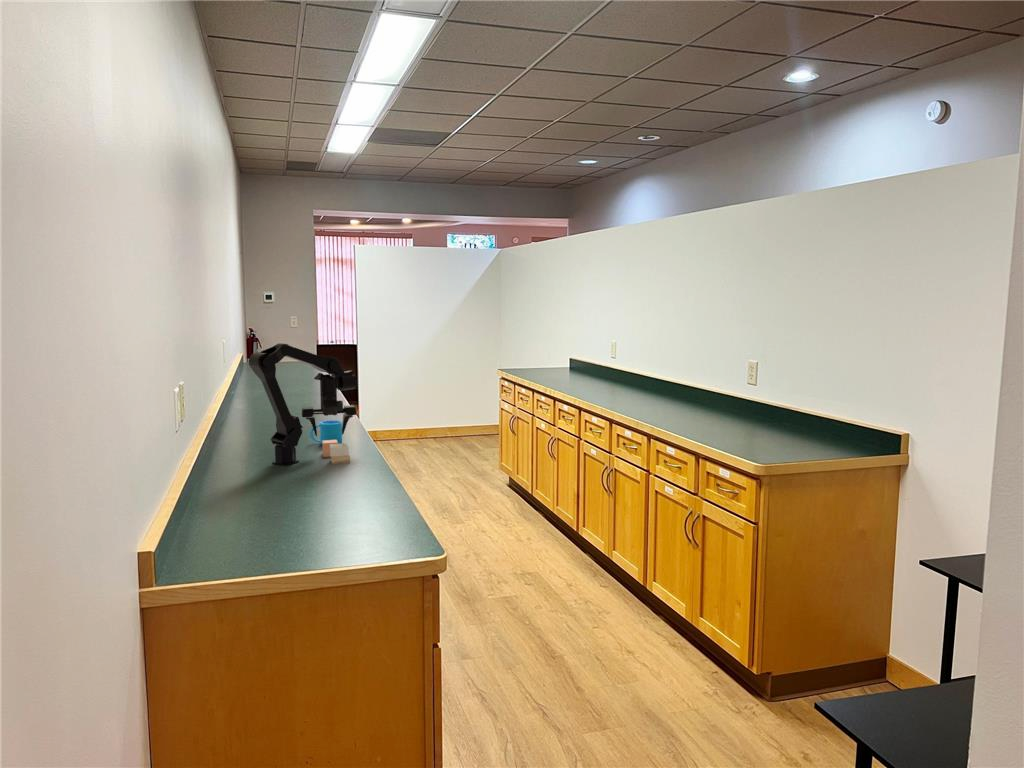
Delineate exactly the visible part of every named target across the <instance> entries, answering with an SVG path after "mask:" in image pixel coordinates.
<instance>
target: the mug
mask: <svg viewBox="0 0 1024 768" xmlns="http://www.w3.org/2000/svg"><path fill="white" fill-rule="evenodd" d="M342 422H343V421H341V420H323V421H320V422H319V424H316V429H317V428H319V432H320V433H319V434H320V435H319V437H320V439H317V438H315V436H314V435H313V433H314V429H313V427H312V428H311V429H310V431H309V436H310V438H311V439H312V440H313V441H314V442H316V443H320V445H322V446H323V444H322V441H323V440H337V442H338V444H343V435H342Z"/></svg>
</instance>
